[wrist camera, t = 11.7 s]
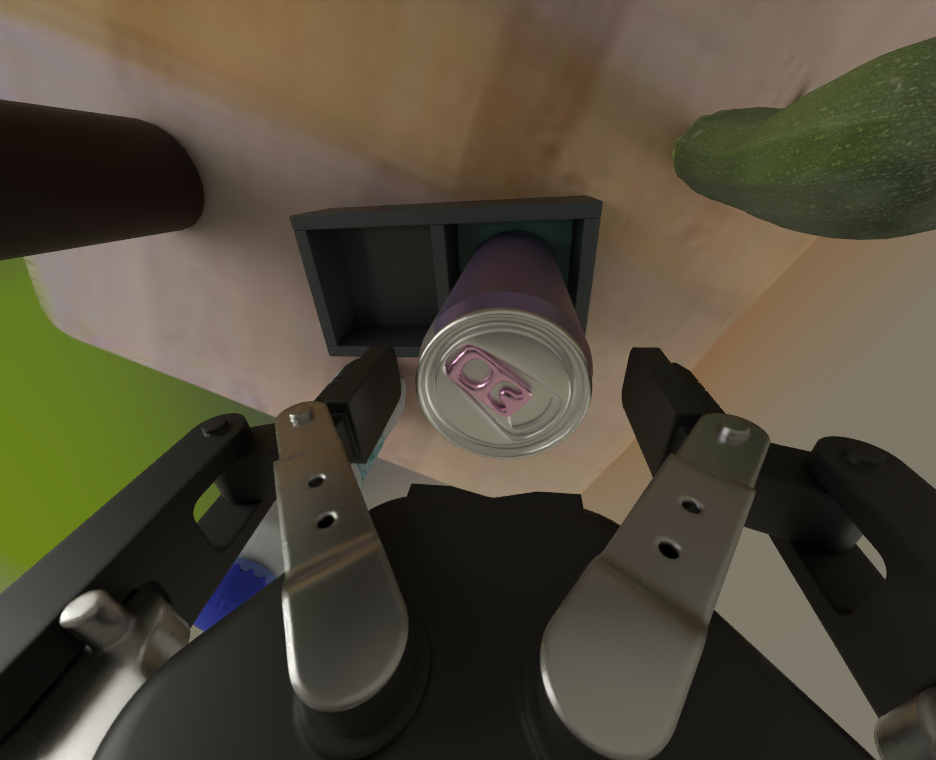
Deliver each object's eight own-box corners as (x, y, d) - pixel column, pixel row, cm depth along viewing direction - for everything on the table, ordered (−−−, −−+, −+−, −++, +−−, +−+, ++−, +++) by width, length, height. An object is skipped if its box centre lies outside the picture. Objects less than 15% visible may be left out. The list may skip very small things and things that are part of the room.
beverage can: (509, 207, 22) (490, 257, 9) (575, 270, 23) (643, 392, 10) (452, 279, 24) (375, 397, 12) (514, 332, 26) (507, 488, 13)
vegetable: (737, 170, 20) (1915, 162, 3) (662, 220, 22) (1150, 387, 5) (708, 95, 19) (2660, -711, 2) (630, 154, 20) (1169, 70, 3)
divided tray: (329, 208, 24) (288, 215, 20) (587, 195, 22) (603, 200, 17) (357, 329, 29) (329, 356, 25) (572, 330, 26) (582, 360, 22)
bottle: (427, 374, 30) (304, 634, 13) (395, 422, 34) (266, 679, 17) (358, 334, 29) (126, 562, 12) (332, 388, 32) (124, 626, 15)
